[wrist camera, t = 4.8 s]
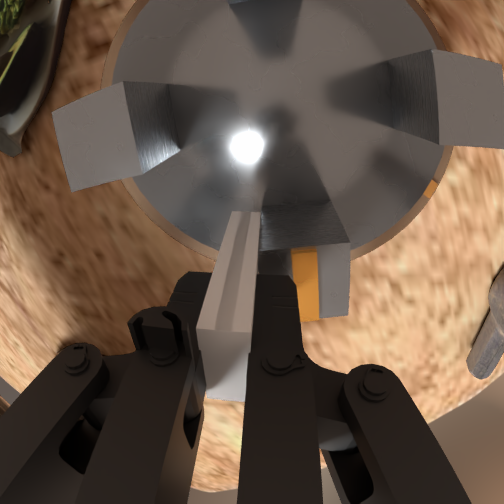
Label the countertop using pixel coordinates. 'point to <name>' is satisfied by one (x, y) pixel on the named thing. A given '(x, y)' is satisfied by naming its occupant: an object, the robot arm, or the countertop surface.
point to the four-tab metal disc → (282, 125)
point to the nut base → (213, 253)
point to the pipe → (489, 334)
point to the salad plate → (27, 62)
